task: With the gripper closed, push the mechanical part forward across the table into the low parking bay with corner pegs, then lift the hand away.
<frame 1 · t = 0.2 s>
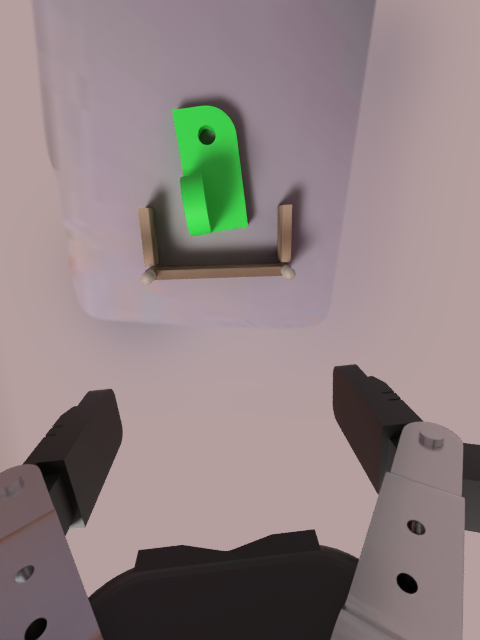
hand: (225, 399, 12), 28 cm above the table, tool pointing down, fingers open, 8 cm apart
parking bay: (217, 230, 37), on the table
mechanical part: (212, 174, 36), on the table
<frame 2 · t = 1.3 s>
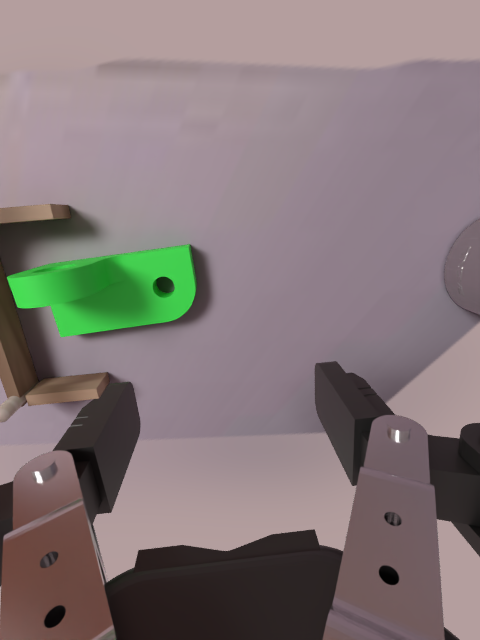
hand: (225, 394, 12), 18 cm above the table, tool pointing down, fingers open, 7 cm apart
parking bay: (62, 303, 28), on the table
mechanical part: (129, 287, 29), on the table
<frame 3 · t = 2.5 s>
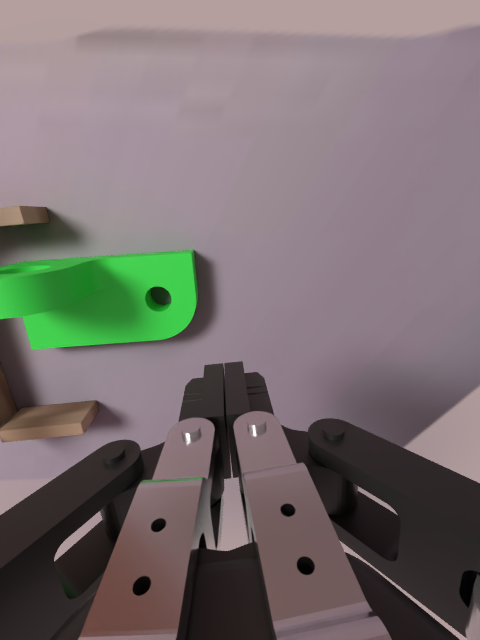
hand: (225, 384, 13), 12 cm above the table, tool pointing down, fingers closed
parking bay: (41, 322, 24), on the table
mechanical part: (118, 295, 24), on the table
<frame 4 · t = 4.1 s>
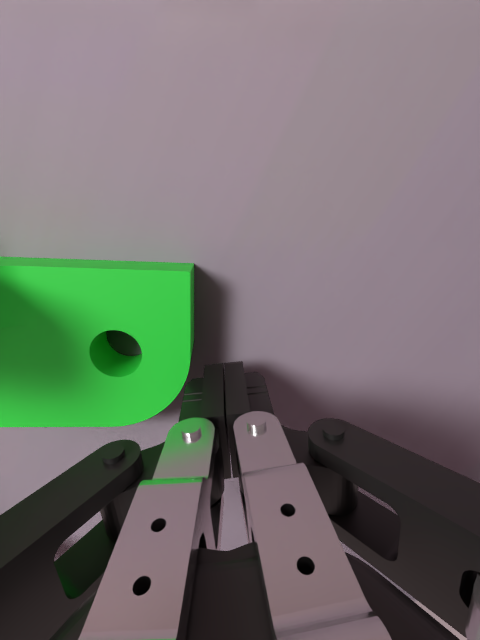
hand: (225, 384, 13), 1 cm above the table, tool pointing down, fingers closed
mechanical part: (46, 330, 13), on the table, touching gripper
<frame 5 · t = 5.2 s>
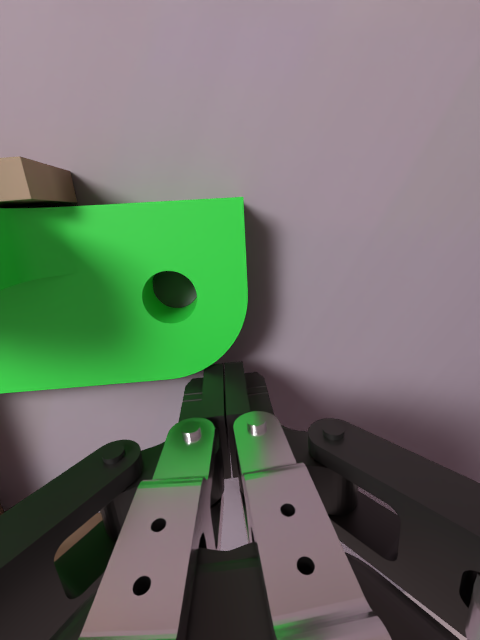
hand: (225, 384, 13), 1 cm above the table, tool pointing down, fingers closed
parking bay: (56, 386, 13), on the table
mechanical part: (89, 290, 13), on the table, touching gripper
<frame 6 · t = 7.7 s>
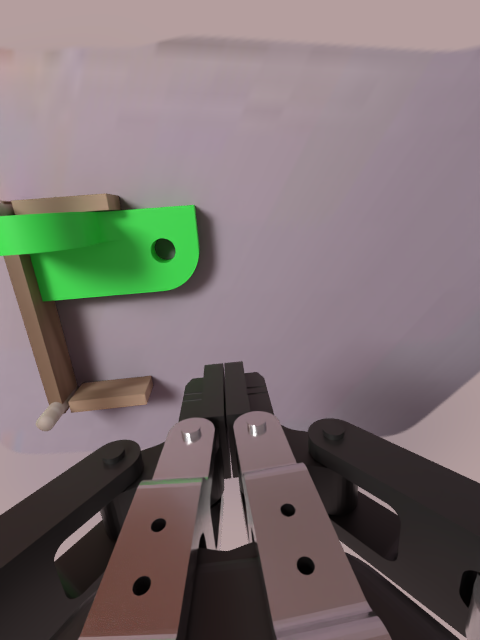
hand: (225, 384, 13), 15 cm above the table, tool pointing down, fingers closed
parking bay: (106, 302, 26), on the table
mechanical part: (123, 251, 26), on the table
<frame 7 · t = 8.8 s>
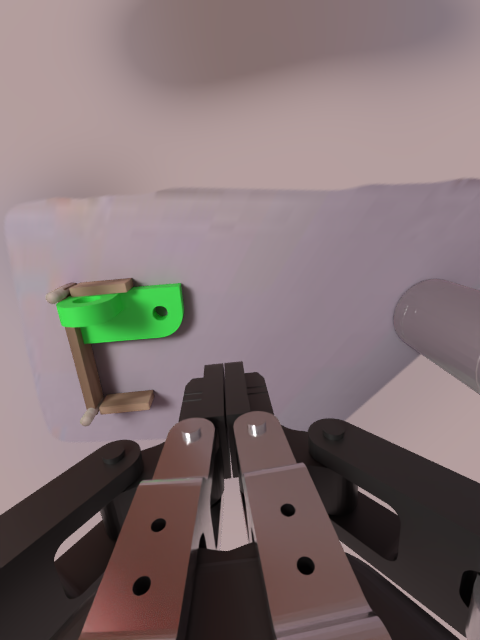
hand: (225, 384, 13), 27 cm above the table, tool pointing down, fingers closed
parking bay: (123, 342, 40), on the table
mechanical part: (135, 310, 40), on the table
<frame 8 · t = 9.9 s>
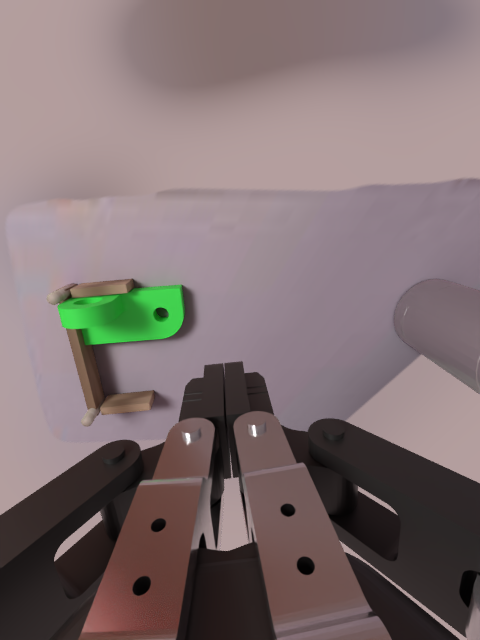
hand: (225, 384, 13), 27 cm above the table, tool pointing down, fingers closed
parking bay: (124, 343, 41), on the table
mechanical part: (136, 311, 40), on the table
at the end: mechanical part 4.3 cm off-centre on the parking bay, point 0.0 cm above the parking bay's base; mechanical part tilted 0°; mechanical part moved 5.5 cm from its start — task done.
